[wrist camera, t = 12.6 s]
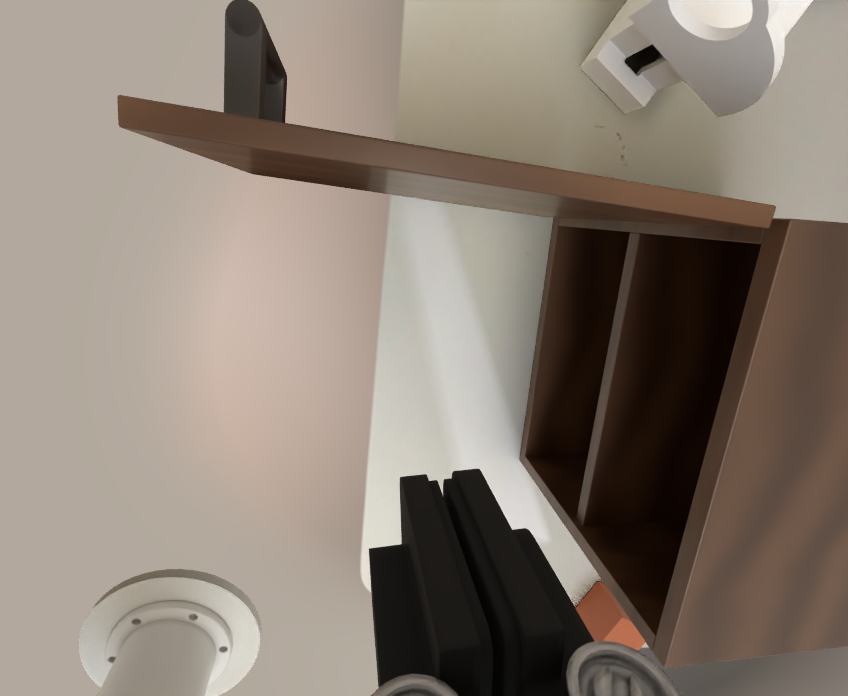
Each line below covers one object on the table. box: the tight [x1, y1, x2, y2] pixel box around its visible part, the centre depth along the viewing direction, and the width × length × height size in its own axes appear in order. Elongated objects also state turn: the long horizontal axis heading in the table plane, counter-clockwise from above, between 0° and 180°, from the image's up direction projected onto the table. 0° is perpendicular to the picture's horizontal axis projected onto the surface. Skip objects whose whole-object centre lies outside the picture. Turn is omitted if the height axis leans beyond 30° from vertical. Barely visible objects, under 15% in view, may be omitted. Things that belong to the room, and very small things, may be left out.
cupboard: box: [520, 217, 848, 668], centre depth 37 cm, size 18×26×24 cm
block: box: [576, 581, 645, 651], centre depth 57 cm, size 6×6×6 cm
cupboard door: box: [118, 0, 776, 229], centre depth 28 cm, size 7×26×24 cm, turn 82°
